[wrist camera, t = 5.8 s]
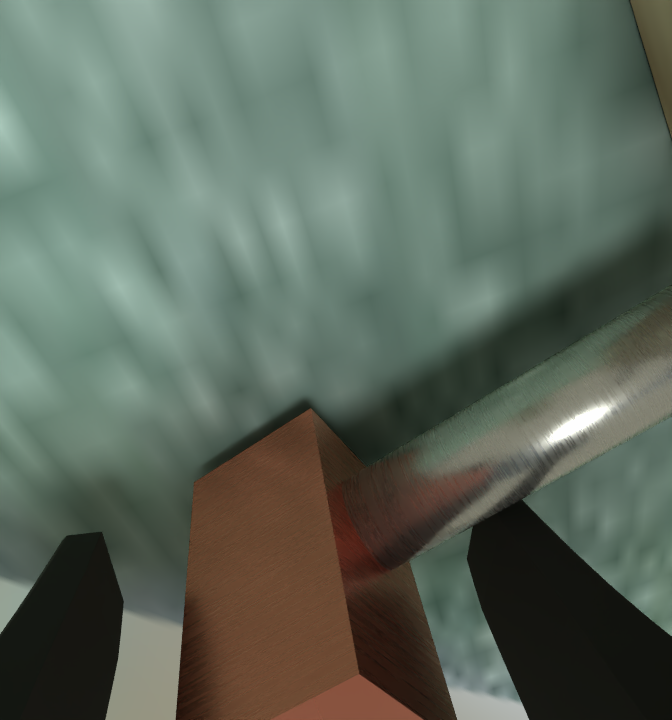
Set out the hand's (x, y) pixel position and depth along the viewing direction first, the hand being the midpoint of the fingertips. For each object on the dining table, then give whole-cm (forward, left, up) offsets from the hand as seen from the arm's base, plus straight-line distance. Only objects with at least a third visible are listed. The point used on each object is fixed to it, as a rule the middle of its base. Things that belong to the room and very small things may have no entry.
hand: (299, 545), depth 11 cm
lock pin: (0, -4, -2) cm, 4 cm away
